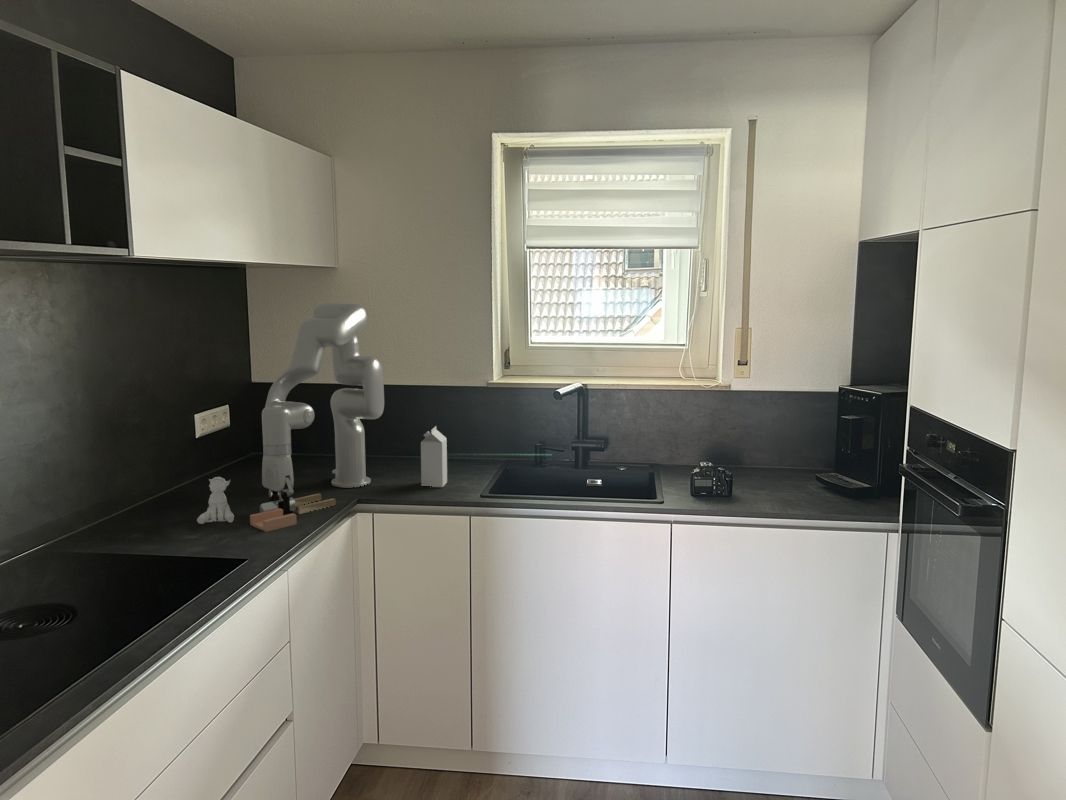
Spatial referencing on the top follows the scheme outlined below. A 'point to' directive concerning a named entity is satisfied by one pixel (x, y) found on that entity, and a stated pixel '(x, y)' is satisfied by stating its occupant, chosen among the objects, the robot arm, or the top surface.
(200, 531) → the top surface
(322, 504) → the channel beam
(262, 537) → the top surface
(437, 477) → the milk carton
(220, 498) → the white creature statuette
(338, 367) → the robot arm
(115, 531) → the top surface
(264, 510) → the grey cylinder
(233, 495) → the top surface
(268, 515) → the cradle
